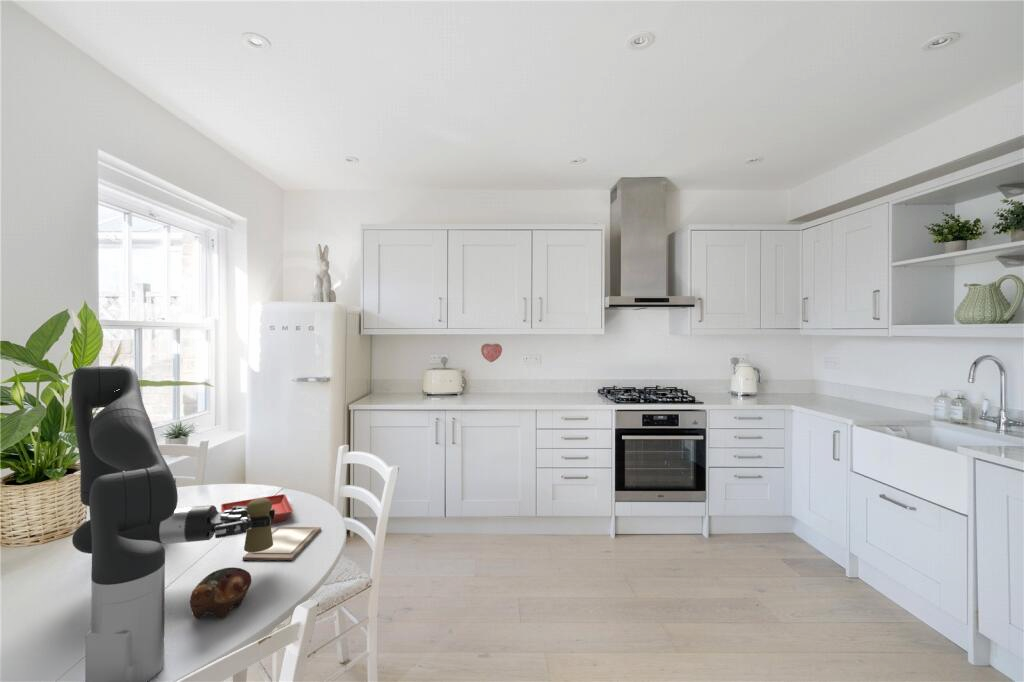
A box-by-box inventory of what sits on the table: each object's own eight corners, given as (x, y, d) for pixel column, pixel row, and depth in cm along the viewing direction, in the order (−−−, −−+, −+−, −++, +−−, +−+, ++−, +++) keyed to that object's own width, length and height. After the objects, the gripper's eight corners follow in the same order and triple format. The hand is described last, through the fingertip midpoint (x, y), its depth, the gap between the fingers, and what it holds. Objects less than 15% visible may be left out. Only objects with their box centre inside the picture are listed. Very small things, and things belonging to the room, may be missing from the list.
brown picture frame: (291, 560, 114) (291, 556, 114) (242, 560, 113) (242, 556, 113) (320, 529, 132) (321, 526, 132) (278, 529, 131) (278, 525, 131)
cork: (260, 553, 105) (261, 505, 105) (237, 550, 107) (238, 502, 107) (278, 542, 111) (279, 496, 111) (257, 539, 112) (257, 494, 113)
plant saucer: (220, 513, 143) (220, 503, 143) (285, 503, 153) (285, 493, 153) (221, 535, 128) (222, 523, 128) (293, 522, 138) (293, 511, 138)
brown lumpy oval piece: (169, 634, 85) (170, 590, 86) (219, 594, 101) (219, 556, 101) (223, 632, 86) (223, 588, 86) (265, 592, 101) (264, 554, 101)
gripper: (176, 519, 98) (265, 512, 103) (201, 497, 112) (279, 492, 117) (175, 554, 98) (265, 545, 103) (200, 528, 112) (278, 521, 117)
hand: (272, 517), depth 110 cm, fingers closed on cork, 4 cm apart
